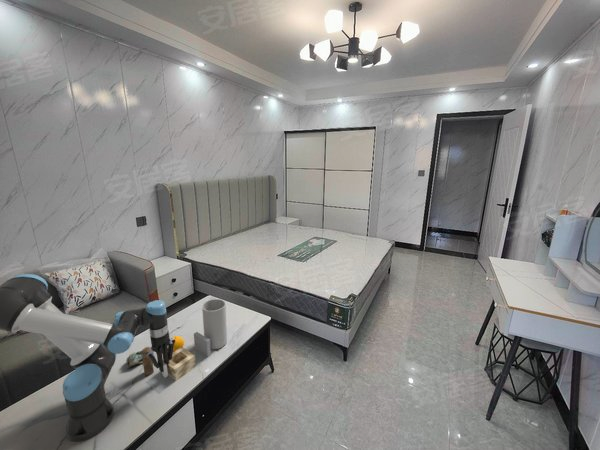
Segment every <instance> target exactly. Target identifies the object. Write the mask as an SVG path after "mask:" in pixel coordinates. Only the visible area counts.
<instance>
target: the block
mask: <svg viewBox="0 0 600 450" xmlns="http://www.w3.org/2000/svg"><path fill="white" fill-rule="evenodd" d="M190 352H191V351H188V350H187V349H185V348H184V347H183V348H182V347H181V348H179V349H178V350H176V351H175V352H173V355H172V359H171V360H169V362H170V363H169V364H168V365H169V368H168V369H167V371H168V375H169V376H170V377H172V378H173V379H174V380H175V382H177V381H178V380H179V379H181V378H182V377H183V375H184V376H185V375H186V374H187V372H188V373H189V372H190V371H191V369H192V370H193V369H194V368H196V367H197V366H196V363H195V355H193V354H192V353H190ZM163 362H164V361H163ZM195 366H196V367H195Z"/></svg>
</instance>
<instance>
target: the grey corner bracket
mask: <svg viewBox="0 0 600 450" xmlns="http://www.w3.org/2000/svg"><path fill="white" fill-rule="evenodd" d="M193 341H194V349H193V350H191V351H189V352H190V353H192V354H193V355H195V363H196V366H195V367H194V368H196V367H197V366H198V365H200V364H201V363H203V361H205V360H206V359H208V358H209V357H210V356H212V351H211V350H212V349H211V348H210V339H208V338H207V337H205V336H204V334H202V333H199V332H198V331H196V332H194V333H193ZM191 370H193V369H191ZM191 370H190V371H191ZM187 373H189V372H187ZM187 373H186V374H187ZM183 376H185V375H183ZM183 376H182V377H183ZM145 383H146V384H147V385H148V386H149V387H151V389H153V390H154V391H155V392H156V393H157V394H160V393H162V392H164V391H165V390H166V389H167V388H169V387H170V386H171V385H173V384H174V383H176V381H175V380H174V379H173V378H172V377H170V376H169V375H168V376H167V377H164V376H162V372H160V371H159V373H158V374H156V375H154V376H153V377H152V378H150V379H148V380H147V381H145Z"/></svg>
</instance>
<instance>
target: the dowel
mask: <svg viewBox="0 0 600 450" xmlns="http://www.w3.org/2000/svg"><path fill="white" fill-rule="evenodd" d="M147 347H148V348H145V347H144V348H142V350H141V351H142V359H143V363H142V365H143V373H144V376H147V377H149V376H151V375H153V374H154V369H155V368H154V365H153V363H152V361H151V359H150V357H149V356H147V355H146V353H147V352H150V350H151V348H149V347H150V346H147Z"/></svg>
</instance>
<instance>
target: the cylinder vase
mask: <svg viewBox="0 0 600 450" xmlns="http://www.w3.org/2000/svg"><path fill="white" fill-rule="evenodd" d="M201 308H202V310H201V311H202V322H203V325H202V326H203V336H205V337H207V338H208V339H210V348H211V350H213V351H214V350H218V349H221V348H223V347H224V346H225V345H226V344H227V342H228V331H227V330H228V326H227V311H226V310H227V308H226V301H225V300H224V299H220V298H218V299H217V298H215V299H209V300H207V301H205V302H204V303H202V306H201Z"/></svg>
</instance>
